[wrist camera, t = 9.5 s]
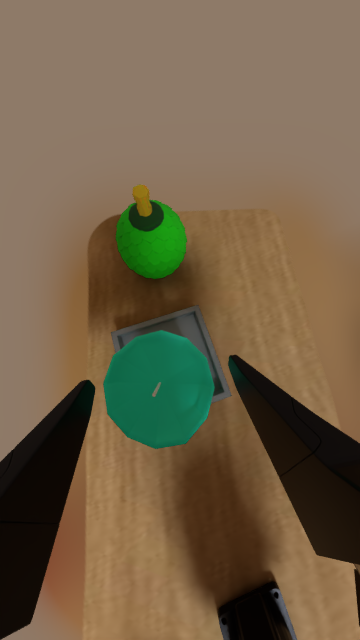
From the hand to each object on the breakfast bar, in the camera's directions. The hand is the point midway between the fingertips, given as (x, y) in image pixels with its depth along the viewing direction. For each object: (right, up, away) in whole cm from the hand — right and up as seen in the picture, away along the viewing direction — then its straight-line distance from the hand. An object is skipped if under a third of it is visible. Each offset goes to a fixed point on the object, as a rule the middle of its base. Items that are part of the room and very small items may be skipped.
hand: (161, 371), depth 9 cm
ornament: (-2, +12, +12) cm, 17 cm away
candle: (0, -2, +9) cm, 9 cm away
